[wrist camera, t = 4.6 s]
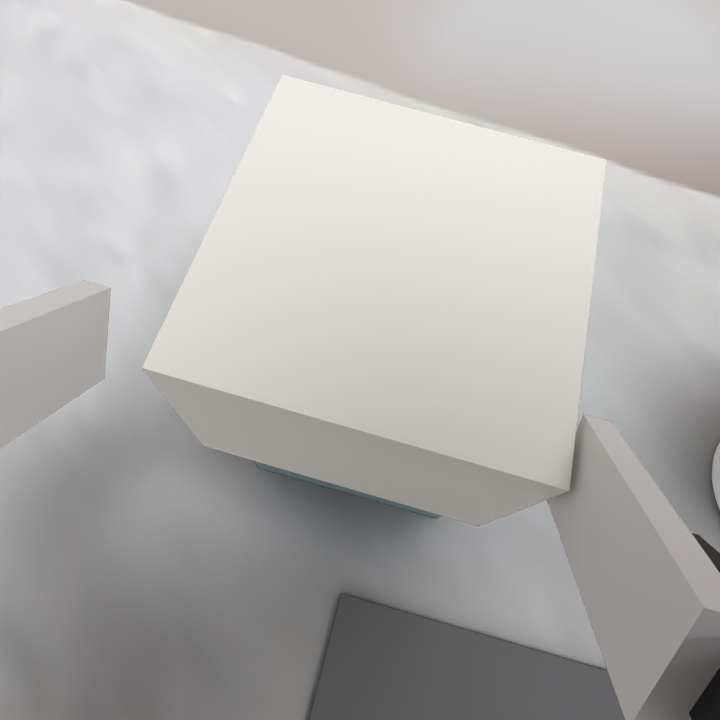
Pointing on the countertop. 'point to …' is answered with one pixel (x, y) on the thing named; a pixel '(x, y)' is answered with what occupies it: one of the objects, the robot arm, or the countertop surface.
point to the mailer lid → (391, 306)
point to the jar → (716, 475)
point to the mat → (447, 674)
